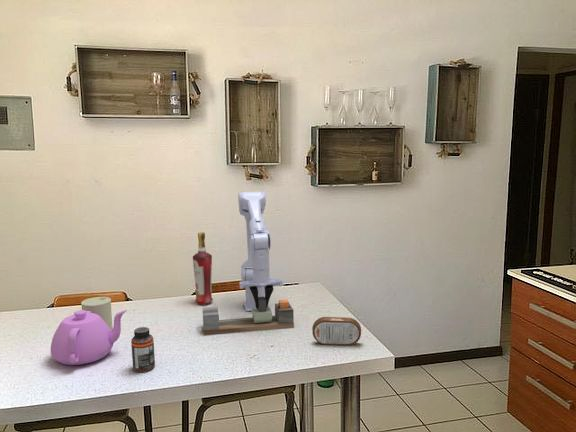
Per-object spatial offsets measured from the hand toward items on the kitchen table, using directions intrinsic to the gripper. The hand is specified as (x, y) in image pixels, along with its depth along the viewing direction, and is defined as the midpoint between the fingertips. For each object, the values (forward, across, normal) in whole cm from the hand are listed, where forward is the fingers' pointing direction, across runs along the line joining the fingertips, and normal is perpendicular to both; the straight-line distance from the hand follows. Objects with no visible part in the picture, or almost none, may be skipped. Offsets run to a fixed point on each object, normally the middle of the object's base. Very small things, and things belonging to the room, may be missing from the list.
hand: (261, 307), depth 167 cm
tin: (+7, +20, -21) cm, 30 cm away
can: (+7, -54, +4) cm, 54 cm away
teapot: (+7, -53, -13) cm, 55 cm away
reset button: (+2, +8, 0) cm, 8 cm away
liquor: (+7, -19, +29) cm, 35 cm away
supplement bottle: (+7, -37, -25) cm, 45 cm away
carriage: (+5, 0, 0) cm, 5 cm away
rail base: (+6, -5, 0) cm, 8 cm away
